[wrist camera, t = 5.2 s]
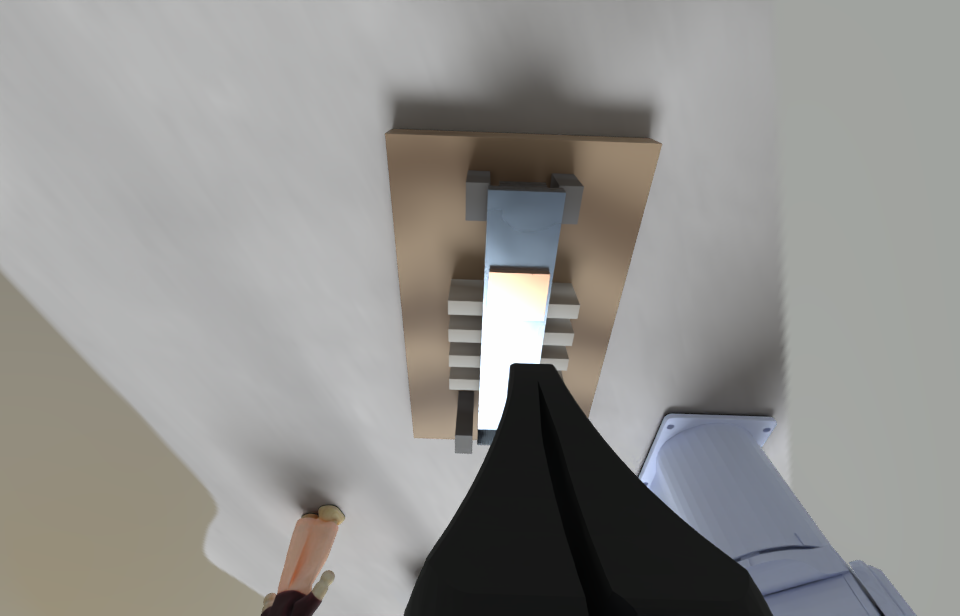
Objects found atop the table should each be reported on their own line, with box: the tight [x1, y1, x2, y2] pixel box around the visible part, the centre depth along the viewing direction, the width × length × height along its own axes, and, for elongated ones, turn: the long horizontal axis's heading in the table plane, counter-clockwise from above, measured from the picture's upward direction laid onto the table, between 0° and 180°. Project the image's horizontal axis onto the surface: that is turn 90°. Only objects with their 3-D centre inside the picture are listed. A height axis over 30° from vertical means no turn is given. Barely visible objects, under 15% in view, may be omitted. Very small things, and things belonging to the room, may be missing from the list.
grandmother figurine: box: [261, 505, 345, 616], centre depth 31 cm, size 8×4×13 cm, turn 136°
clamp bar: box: [477, 181, 566, 445], centre depth 19 cm, size 15×3×2 cm, turn 178°
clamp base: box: [385, 129, 662, 454], centre depth 21 cm, size 20×12×5 cm, turn 178°
